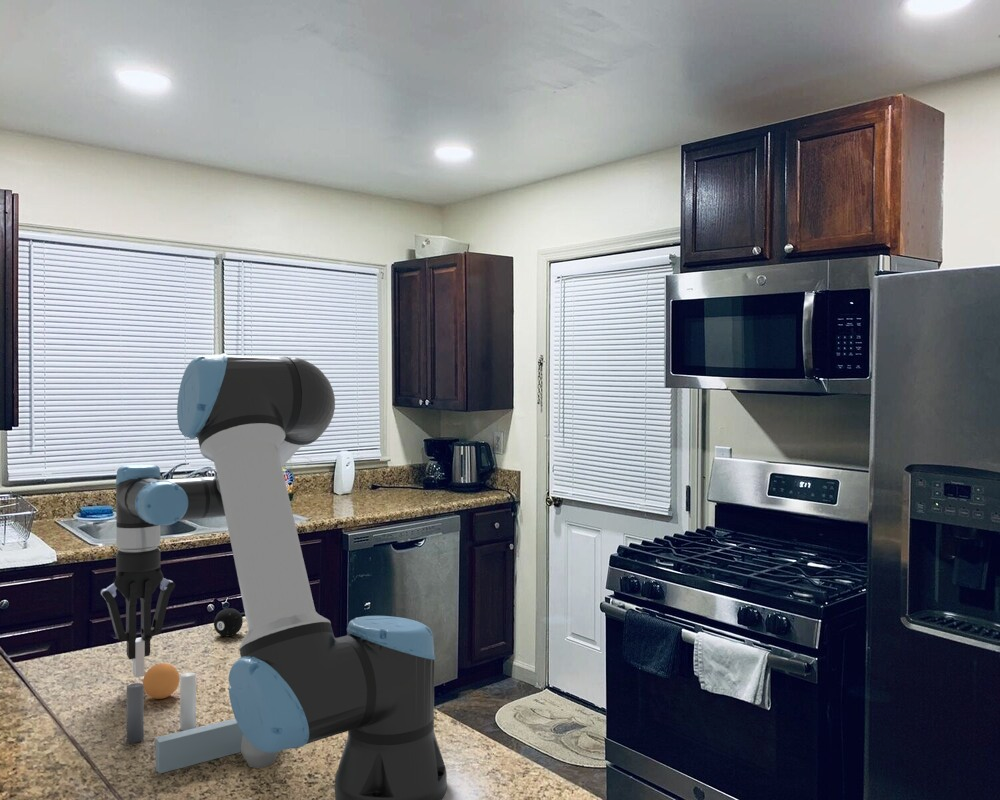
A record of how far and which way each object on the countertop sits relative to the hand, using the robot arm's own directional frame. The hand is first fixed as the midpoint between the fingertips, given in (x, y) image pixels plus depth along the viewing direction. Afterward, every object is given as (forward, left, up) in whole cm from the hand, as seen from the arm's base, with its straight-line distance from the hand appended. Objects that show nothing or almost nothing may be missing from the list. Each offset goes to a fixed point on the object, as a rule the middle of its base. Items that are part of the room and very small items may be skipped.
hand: (138, 674), depth 150 cm
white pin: (-26, -2, -2) cm, 26 cm away
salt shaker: (-45, -7, -2) cm, 45 cm away
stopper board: (-39, -3, -2) cm, 39 cm away
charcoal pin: (-26, +6, -2) cm, 26 cm away
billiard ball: (+20, -24, -2) cm, 31 cm away
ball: (-10, -2, +1) cm, 10 cm away
